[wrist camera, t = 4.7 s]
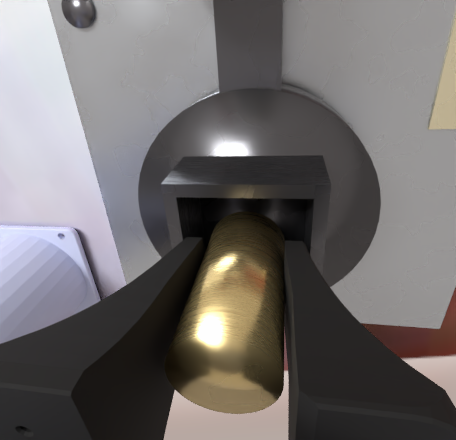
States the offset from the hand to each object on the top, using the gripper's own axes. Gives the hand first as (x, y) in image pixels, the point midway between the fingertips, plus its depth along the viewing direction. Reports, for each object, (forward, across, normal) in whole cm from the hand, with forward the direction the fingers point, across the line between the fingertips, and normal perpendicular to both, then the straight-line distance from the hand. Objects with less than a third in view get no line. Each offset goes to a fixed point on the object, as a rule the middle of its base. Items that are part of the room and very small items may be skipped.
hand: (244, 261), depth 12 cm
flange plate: (+7, -1, 0) cm, 7 cm away
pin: (+1, 0, 0) cm, 1 cm away
